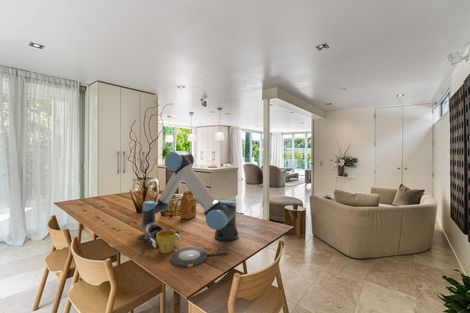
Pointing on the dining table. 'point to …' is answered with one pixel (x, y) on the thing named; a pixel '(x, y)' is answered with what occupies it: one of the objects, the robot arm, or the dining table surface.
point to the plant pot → (166, 240)
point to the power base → (191, 256)
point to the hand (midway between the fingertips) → (167, 241)
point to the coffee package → (188, 205)
